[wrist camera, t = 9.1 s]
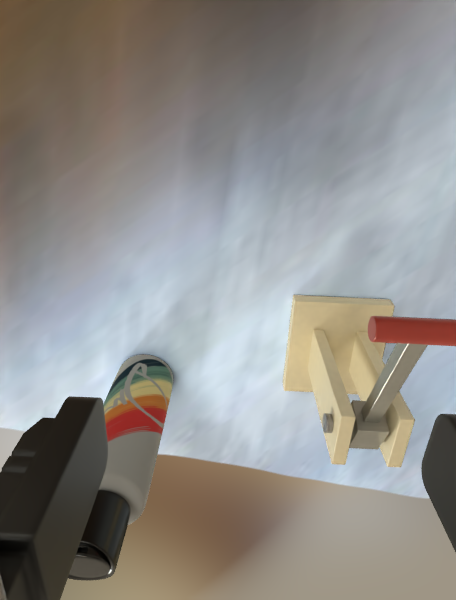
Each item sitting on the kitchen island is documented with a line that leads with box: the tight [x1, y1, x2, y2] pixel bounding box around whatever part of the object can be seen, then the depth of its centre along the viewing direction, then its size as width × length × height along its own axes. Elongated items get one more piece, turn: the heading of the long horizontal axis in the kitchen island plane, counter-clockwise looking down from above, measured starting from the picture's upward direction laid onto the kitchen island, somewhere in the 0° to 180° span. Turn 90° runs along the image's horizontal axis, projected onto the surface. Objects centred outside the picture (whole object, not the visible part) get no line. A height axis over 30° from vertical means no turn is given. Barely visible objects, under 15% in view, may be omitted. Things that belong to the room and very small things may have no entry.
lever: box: [349, 316, 456, 449], centre depth 27 cm, size 13×5×2 cm, turn 177°
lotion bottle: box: [68, 354, 173, 580], centre depth 35 cm, size 6×6×20 cm
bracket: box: [283, 295, 415, 467], centre depth 36 cm, size 10×9×13 cm
